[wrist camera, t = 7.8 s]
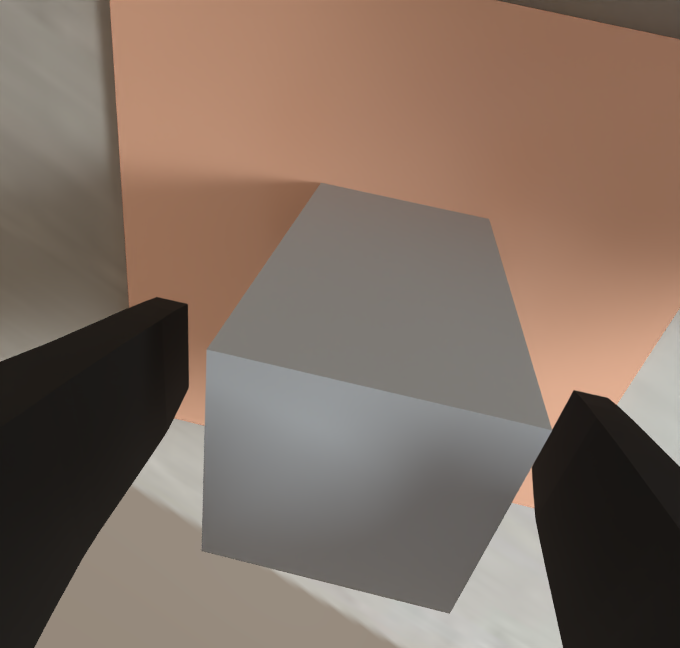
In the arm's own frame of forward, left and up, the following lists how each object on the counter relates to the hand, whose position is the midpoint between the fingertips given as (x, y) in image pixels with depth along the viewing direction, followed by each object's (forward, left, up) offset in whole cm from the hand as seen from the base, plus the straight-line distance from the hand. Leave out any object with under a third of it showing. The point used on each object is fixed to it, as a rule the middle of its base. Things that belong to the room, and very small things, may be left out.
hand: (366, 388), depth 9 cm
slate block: (0, 0, -4) cm, 4 cm away
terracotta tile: (0, 0, -5) cm, 5 cm away
